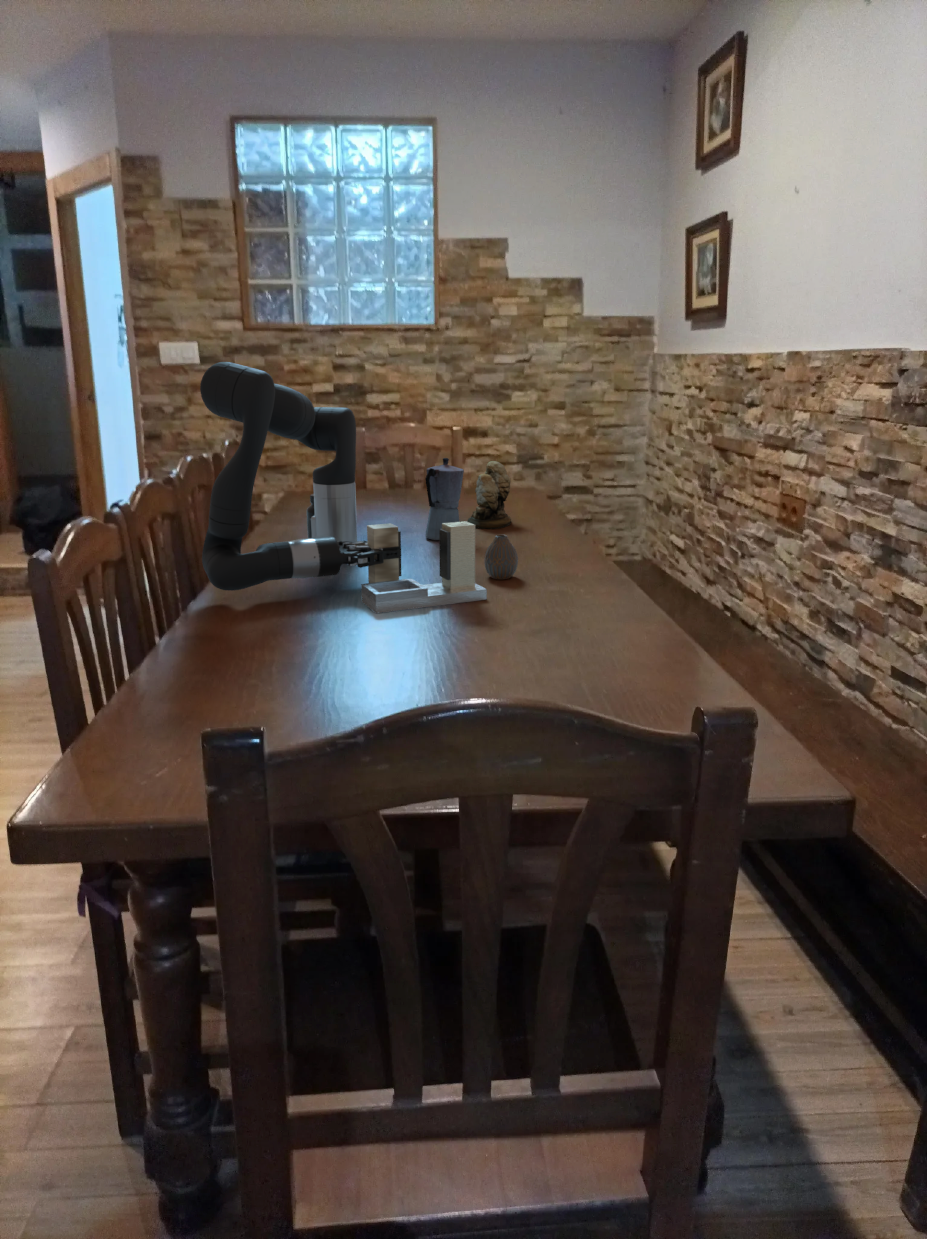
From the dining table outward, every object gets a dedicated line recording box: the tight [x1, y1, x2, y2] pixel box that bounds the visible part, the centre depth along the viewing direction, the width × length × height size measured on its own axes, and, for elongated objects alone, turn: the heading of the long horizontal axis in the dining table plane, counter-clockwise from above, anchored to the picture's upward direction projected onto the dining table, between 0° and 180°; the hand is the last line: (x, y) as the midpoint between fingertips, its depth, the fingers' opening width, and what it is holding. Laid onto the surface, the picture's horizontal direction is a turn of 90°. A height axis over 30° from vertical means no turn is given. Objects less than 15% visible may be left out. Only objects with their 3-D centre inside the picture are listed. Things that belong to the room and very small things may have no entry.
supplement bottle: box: [306, 493, 315, 538], centre depth 209 cm, size 7×7×12 cm
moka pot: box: [424, 457, 465, 541], centre depth 214 cm, size 10×15×20 cm, turn 155°
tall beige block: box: [366, 522, 402, 583], centre depth 171 cm, size 6×4×12 cm
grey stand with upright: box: [360, 520, 488, 614], centre depth 160 cm, size 22×8×14 cm, turn 115°
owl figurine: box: [466, 460, 512, 530], centre depth 235 cm, size 18×12×17 cm, turn 169°
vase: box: [484, 534, 519, 580], centre depth 178 cm, size 7×7×9 cm
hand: (395, 549), depth 172 cm, fingers closed on tall beige block, 4 cm apart
